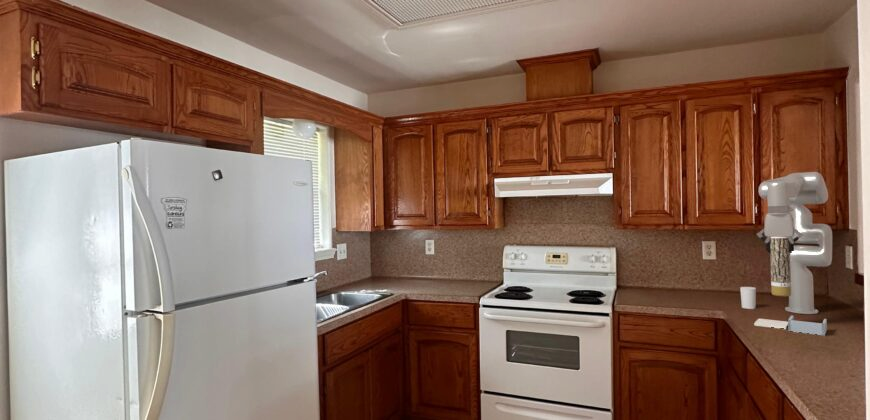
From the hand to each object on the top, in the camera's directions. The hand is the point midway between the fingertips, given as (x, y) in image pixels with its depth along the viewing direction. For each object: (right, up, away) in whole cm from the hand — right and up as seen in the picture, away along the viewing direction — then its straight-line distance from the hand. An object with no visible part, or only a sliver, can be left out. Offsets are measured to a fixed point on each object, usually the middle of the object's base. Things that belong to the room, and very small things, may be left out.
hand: (779, 252), depth 203 cm
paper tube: (+1, -18, 0) cm, 18 cm away
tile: (-1, -31, +3) cm, 32 cm away
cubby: (+6, -31, -8) cm, 33 cm away
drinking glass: (+12, -32, +38) cm, 51 cm away
